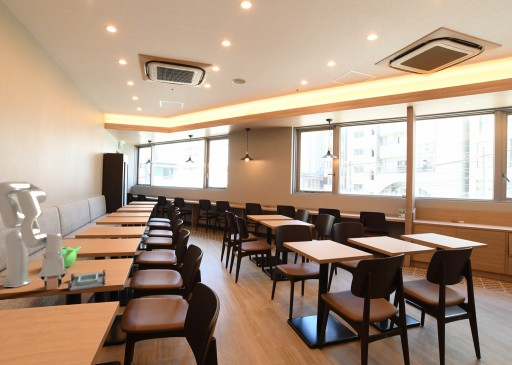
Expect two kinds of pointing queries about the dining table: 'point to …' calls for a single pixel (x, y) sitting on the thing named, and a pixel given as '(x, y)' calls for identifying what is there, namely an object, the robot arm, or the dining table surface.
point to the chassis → (86, 281)
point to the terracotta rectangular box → (52, 282)
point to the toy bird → (69, 255)
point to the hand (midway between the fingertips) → (53, 286)
